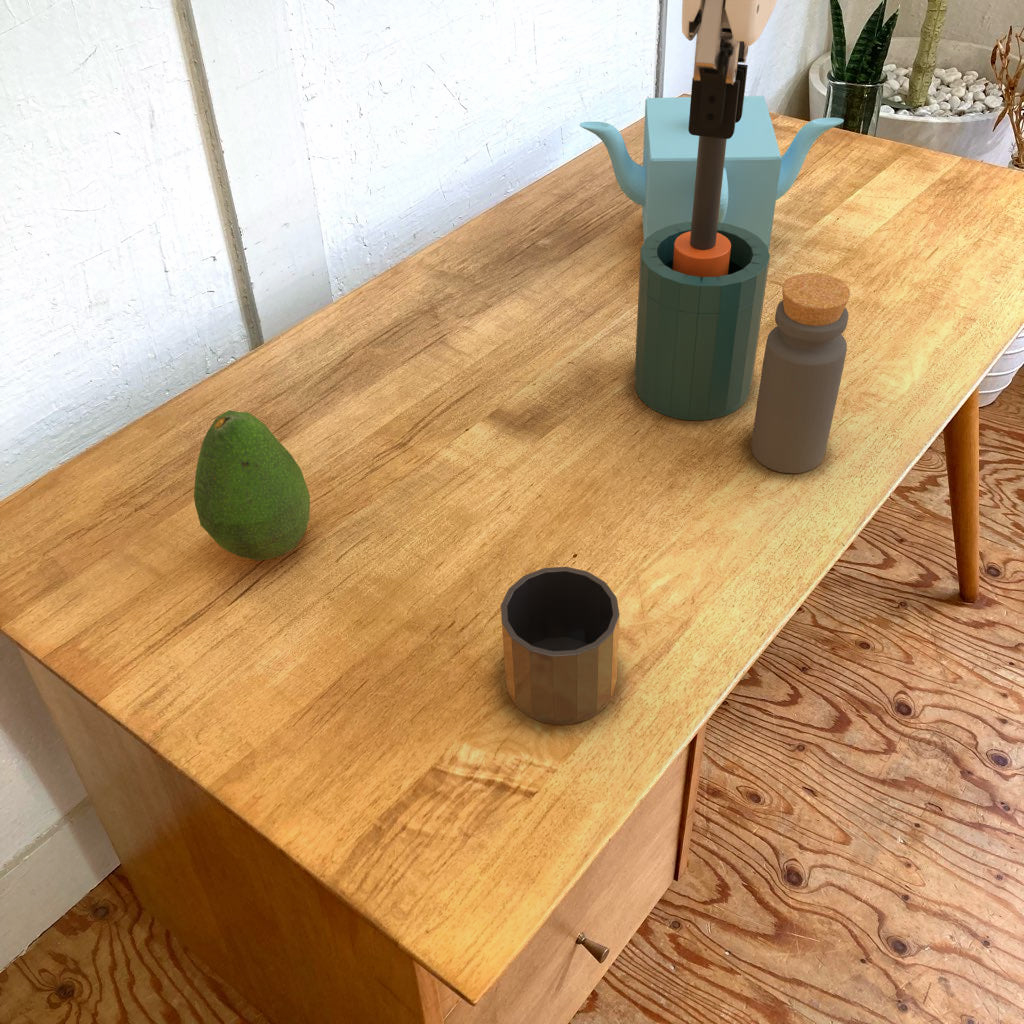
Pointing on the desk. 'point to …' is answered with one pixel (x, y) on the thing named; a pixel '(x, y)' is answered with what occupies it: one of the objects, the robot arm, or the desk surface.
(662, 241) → the jar
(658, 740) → the desk surface
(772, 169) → the teakettle
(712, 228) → the rod with orange collar
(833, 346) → the bottle
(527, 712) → the holder
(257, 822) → the desk surface
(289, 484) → the fruit
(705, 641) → the desk surface
